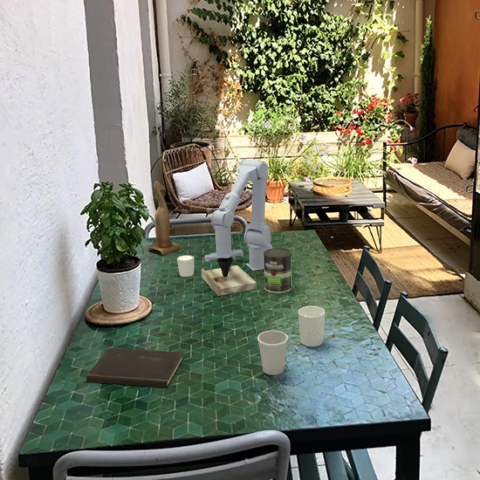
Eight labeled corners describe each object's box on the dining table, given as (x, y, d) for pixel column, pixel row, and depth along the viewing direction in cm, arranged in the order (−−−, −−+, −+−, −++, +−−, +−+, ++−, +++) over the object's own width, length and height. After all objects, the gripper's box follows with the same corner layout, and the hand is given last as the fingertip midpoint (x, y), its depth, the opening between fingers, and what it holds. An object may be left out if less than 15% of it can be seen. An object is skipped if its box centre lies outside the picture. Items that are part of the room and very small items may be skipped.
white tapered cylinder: (194, 277, 230) (193, 260, 228) (177, 277, 230) (175, 261, 228) (195, 270, 236) (194, 254, 234) (179, 271, 237) (177, 255, 234)
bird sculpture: (182, 250, 263) (178, 179, 254) (162, 256, 255) (158, 184, 246) (165, 245, 270) (161, 177, 261) (146, 251, 262) (141, 181, 253)
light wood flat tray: (237, 271, 234) (237, 263, 233) (256, 288, 216) (256, 279, 215) (201, 277, 229) (201, 269, 228) (218, 295, 211) (217, 286, 210)
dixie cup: (279, 380, 156) (279, 347, 153) (252, 372, 160) (251, 340, 157) (293, 366, 163) (293, 334, 160) (267, 359, 167) (266, 327, 164)
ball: (214, 281, 221) (221, 285, 223) (217, 284, 218) (224, 287, 220) (219, 274, 221) (225, 278, 223) (222, 276, 218) (228, 280, 220)
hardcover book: (109, 354, 174) (109, 347, 174) (184, 359, 170) (183, 352, 169) (86, 383, 159) (85, 376, 159) (167, 389, 155) (166, 382, 154)
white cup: (327, 337, 178) (327, 307, 175) (322, 349, 171) (322, 318, 168) (301, 334, 181) (301, 304, 178) (295, 346, 174) (295, 315, 171)
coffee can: (287, 295, 210) (286, 258, 205) (260, 291, 213) (259, 255, 209) (295, 284, 219) (295, 249, 214) (269, 281, 222) (268, 246, 218)
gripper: (208, 247, 210) (210, 282, 214) (245, 242, 215) (246, 276, 219) (202, 242, 216) (204, 276, 221) (238, 236, 221) (240, 270, 225)
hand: (225, 276), depth 220 cm, fingers closed
